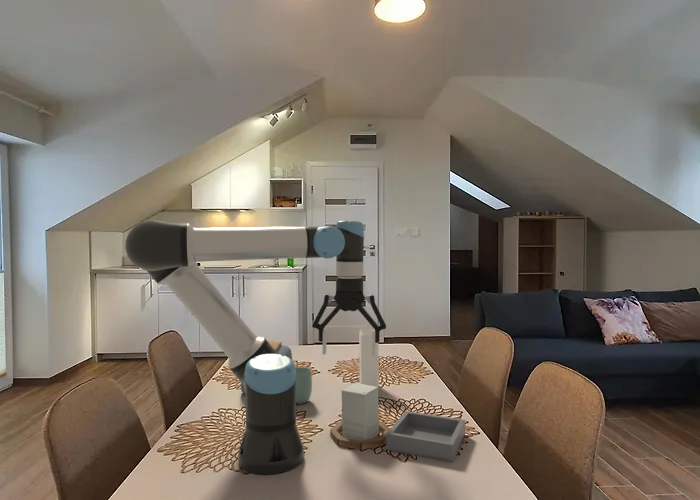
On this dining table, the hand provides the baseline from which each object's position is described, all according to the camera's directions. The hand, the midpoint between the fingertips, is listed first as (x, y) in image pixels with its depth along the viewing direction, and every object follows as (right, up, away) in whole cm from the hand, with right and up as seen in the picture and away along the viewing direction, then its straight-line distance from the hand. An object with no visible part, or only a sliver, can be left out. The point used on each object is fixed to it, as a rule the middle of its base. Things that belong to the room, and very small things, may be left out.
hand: (348, 354), depth 128 cm
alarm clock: (-28, -20, +33) cm, 48 cm away
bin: (+20, -20, -10) cm, 30 cm away
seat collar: (+3, -20, -6) cm, 21 cm away
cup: (-16, -20, +19) cm, 32 cm away
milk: (+7, -19, +33) cm, 39 cm away
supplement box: (+3, -20, -6) cm, 21 cm away
